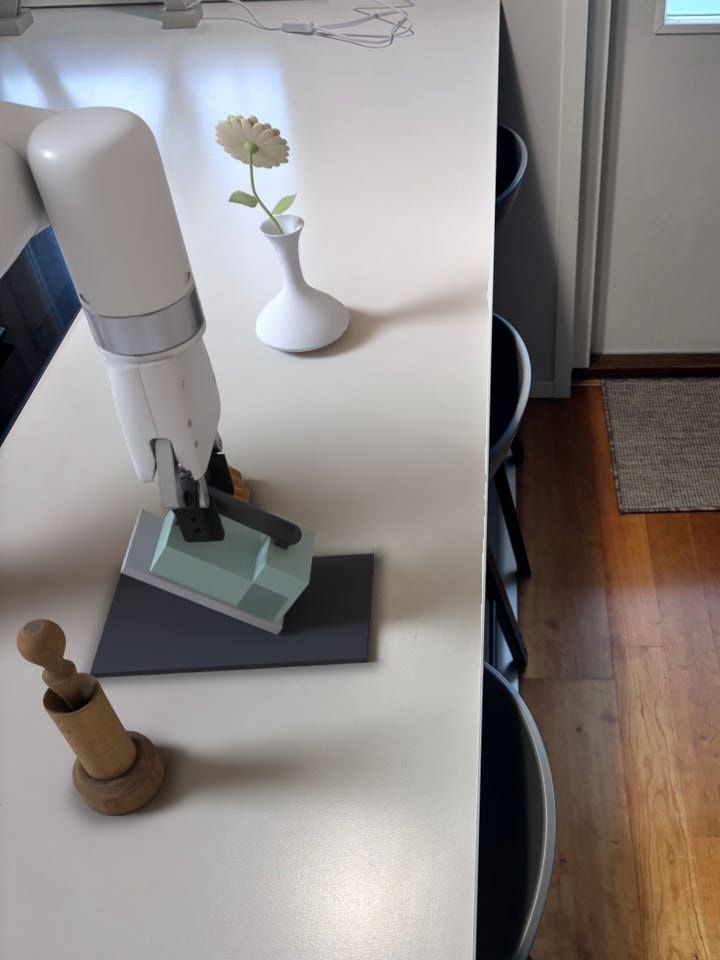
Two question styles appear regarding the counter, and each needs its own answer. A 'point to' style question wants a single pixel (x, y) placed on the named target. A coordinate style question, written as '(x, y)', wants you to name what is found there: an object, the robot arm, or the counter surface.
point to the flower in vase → (282, 248)
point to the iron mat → (239, 627)
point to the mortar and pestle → (92, 728)
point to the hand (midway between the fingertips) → (210, 514)
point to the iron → (226, 560)
